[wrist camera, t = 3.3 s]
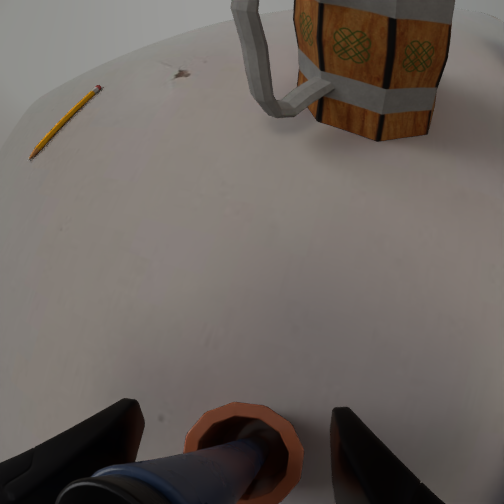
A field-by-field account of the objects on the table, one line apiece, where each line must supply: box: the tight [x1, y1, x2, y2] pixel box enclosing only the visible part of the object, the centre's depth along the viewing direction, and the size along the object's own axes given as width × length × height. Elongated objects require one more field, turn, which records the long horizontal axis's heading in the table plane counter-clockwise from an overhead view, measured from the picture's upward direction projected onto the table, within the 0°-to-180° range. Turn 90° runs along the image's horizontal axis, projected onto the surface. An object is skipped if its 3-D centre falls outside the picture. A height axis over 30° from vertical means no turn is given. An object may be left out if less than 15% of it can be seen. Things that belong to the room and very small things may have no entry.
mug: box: [231, 0, 455, 142], centre depth 19 cm, size 20×14×15 cm
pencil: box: [28, 85, 101, 160], centre depth 30 cm, size 1×13×1 cm, turn 159°
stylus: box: [55, 436, 269, 504], centre depth 7 cm, size 1×1×13 cm
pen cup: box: [183, 402, 304, 504], centre depth 11 cm, size 4×4×5 cm
